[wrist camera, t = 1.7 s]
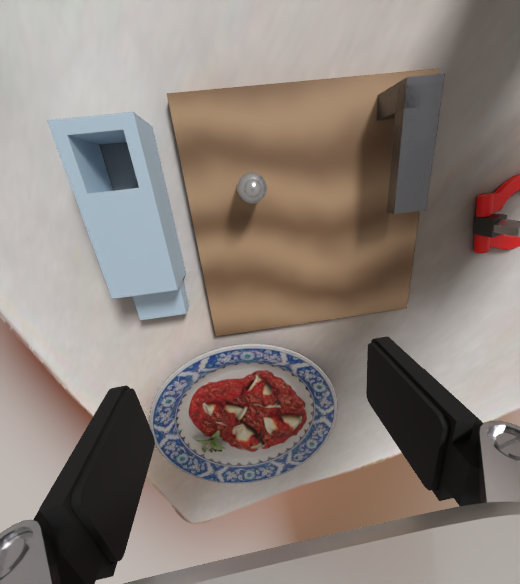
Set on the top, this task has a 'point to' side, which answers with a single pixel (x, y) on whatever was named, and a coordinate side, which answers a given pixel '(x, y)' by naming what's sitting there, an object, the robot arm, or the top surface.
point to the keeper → (411, 138)
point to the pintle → (251, 187)
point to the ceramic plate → (243, 413)
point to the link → (125, 211)
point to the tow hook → (496, 219)
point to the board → (295, 201)
